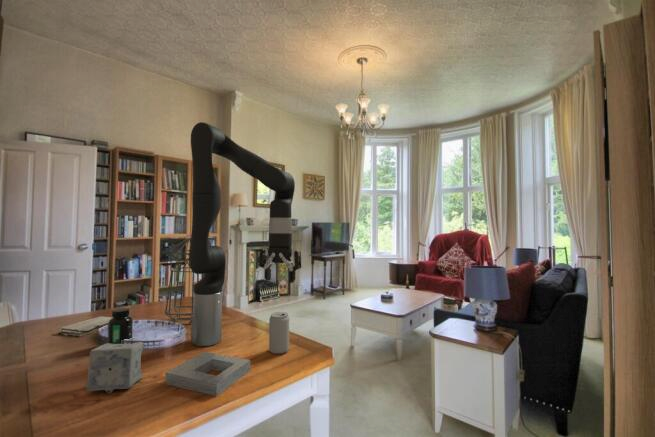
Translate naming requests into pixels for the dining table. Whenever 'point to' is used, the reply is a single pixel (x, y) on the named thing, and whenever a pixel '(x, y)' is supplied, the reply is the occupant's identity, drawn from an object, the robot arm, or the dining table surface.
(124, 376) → the incense holder
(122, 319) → the supplement bottle
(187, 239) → the geometric lantern
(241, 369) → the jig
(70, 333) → the washcloth
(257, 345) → the dining table surface
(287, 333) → the beverage can
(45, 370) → the dining table surface
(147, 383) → the dining table surface
